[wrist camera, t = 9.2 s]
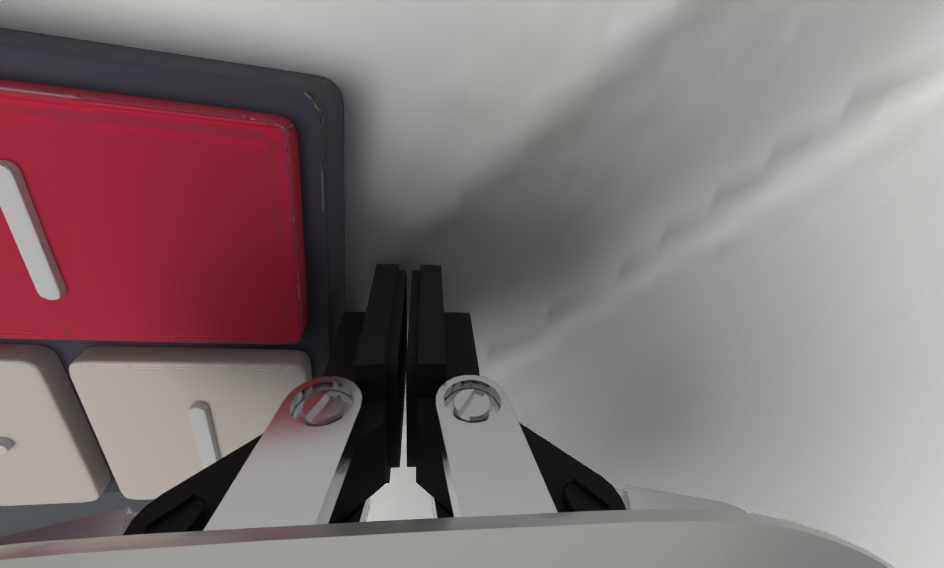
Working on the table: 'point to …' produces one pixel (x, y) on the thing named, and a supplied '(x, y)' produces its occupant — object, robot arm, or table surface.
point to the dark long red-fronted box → (157, 260)
